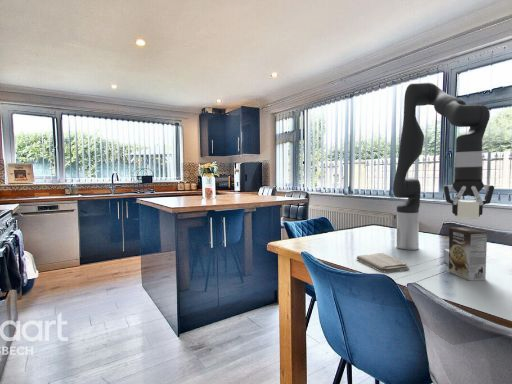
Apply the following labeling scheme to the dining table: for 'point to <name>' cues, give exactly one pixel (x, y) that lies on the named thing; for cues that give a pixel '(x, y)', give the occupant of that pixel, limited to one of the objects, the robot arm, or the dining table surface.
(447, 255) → the slate block
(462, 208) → the cream cube
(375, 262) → the washcloth
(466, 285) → the dining table surface
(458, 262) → the coffee box
